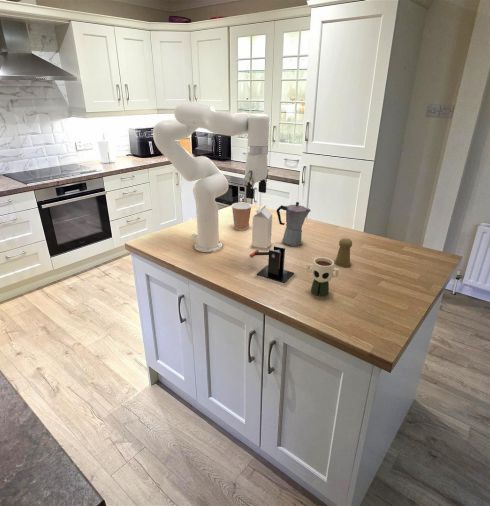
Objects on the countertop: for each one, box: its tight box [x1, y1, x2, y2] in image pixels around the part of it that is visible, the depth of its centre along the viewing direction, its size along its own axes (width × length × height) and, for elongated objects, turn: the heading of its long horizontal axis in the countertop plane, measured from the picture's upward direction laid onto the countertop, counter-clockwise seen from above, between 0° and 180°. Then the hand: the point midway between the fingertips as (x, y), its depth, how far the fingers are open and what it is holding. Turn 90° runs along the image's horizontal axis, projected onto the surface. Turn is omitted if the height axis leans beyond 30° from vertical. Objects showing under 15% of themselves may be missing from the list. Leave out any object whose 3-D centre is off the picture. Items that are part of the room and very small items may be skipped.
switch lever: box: [249, 248, 282, 259], centre depth 134 cm, size 12×5×2 cm, turn 58°
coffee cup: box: [231, 201, 253, 231], centre depth 179 cm, size 10×10×12 cm
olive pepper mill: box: [334, 237, 353, 268], centre depth 144 cm, size 6×6×11 cm
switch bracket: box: [256, 245, 295, 284], centre depth 133 cm, size 12×9×12 cm
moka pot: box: [276, 201, 312, 247], centre depth 160 cm, size 10×15×20 cm, turn 89°
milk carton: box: [251, 204, 273, 249], centre depth 157 cm, size 7×7×19 cm
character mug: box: [306, 256, 340, 298], centre depth 122 cm, size 11×7×13 cm, turn 69°
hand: (256, 195), depth 136 cm, fingers open, 9 cm apart
